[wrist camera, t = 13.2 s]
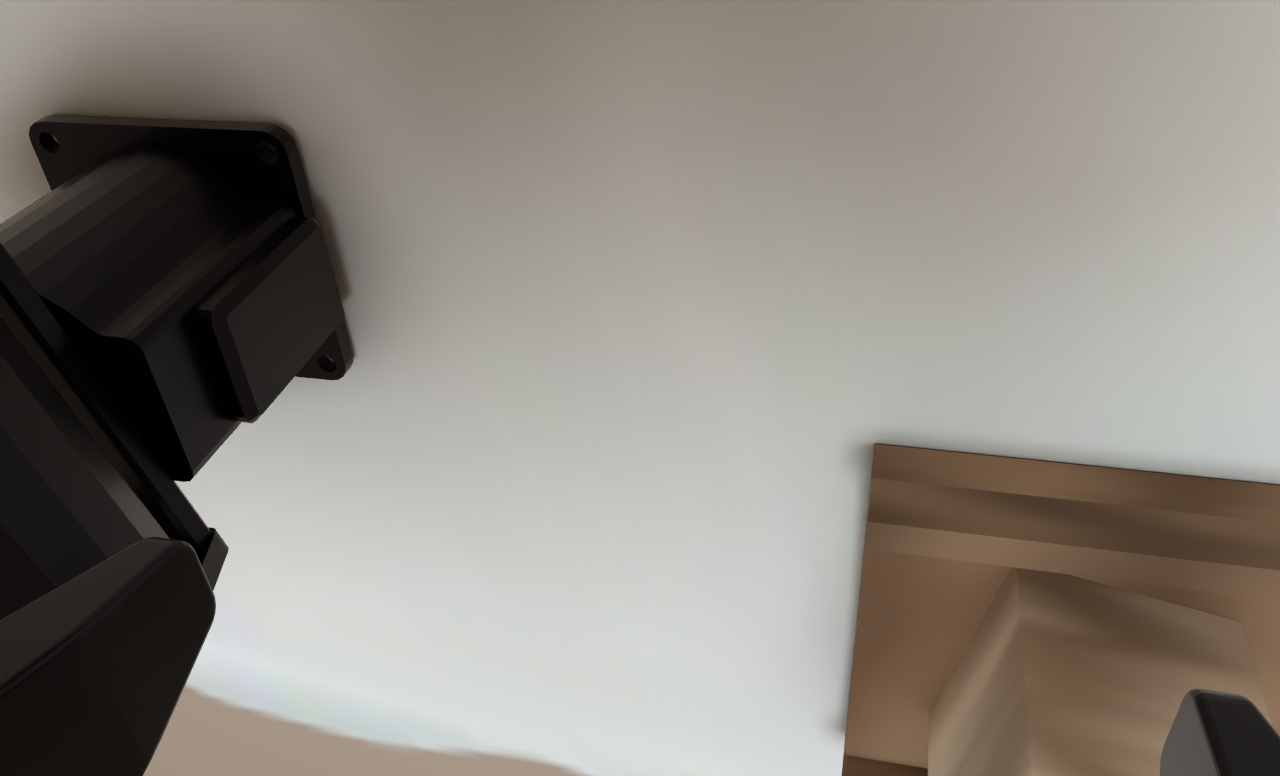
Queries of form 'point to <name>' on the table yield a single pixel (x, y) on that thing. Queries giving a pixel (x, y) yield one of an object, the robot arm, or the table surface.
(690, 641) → the table surface
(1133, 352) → the table surface
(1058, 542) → the brown tray
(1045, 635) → the frame block
